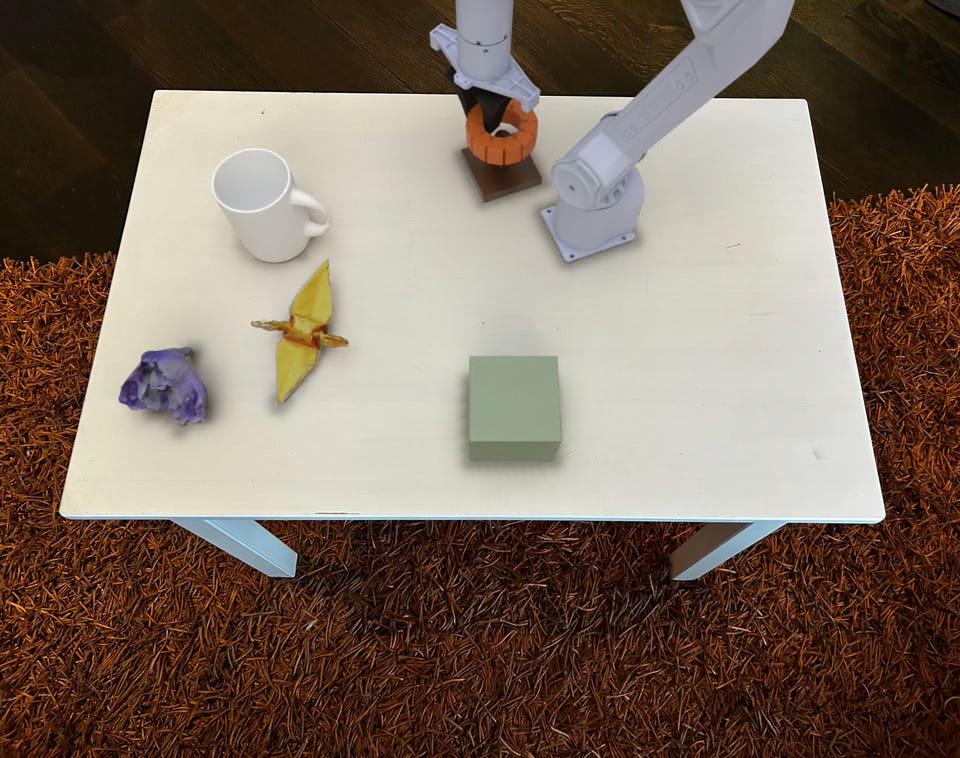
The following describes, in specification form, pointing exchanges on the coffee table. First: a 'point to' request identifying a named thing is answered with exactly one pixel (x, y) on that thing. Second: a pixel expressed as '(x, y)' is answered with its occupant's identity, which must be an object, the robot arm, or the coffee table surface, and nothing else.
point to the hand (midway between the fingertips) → (483, 122)
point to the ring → (502, 148)
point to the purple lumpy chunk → (166, 385)
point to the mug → (265, 204)
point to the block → (514, 408)
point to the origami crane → (304, 331)
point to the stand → (500, 174)
